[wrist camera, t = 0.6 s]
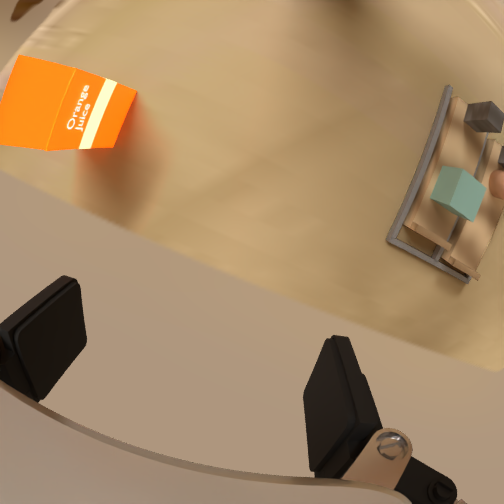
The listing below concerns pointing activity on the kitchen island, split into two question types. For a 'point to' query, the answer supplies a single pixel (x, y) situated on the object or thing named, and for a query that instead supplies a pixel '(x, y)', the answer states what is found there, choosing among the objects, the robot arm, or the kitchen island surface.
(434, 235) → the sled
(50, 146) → the orange juice
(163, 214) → the kitchen island surface
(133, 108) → the kitchen island surface
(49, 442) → the robot arm
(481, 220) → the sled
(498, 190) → the rounded peach cylinder
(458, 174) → the teal cube
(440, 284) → the kitchen island surface
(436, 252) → the lane frame
